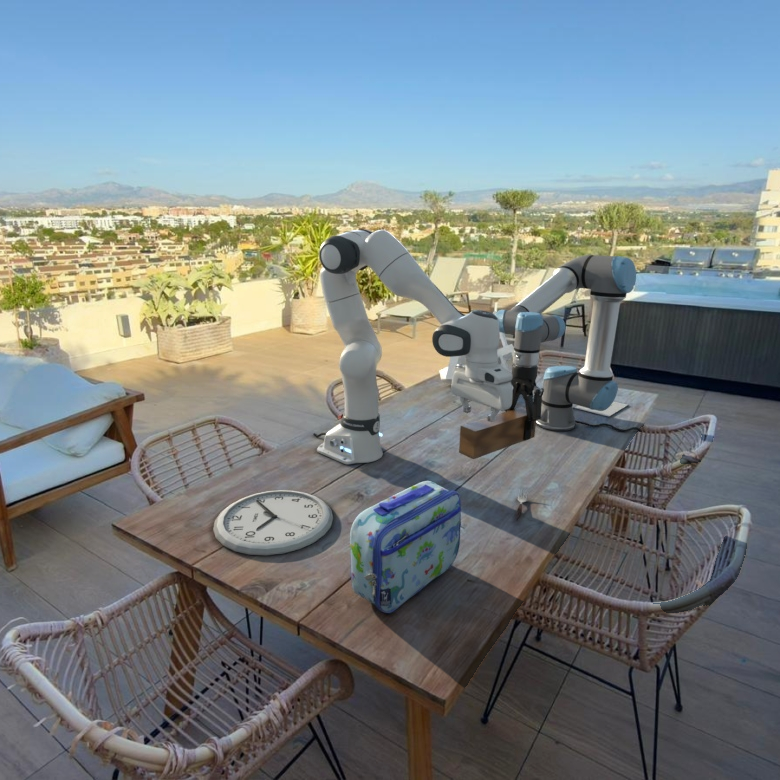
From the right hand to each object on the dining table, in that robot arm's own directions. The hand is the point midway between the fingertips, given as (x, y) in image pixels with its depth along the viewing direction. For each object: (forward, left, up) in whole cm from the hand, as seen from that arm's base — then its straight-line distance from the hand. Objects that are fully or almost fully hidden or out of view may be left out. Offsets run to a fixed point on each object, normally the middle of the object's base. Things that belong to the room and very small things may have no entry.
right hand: (518, 436), depth 164 cm
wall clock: (+65, +41, -11) cm, 78 cm away
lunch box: (+29, +61, -11) cm, 69 cm away
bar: (+7, +7, 0) cm, 10 cm away
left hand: (+14, +14, +11) cm, 22 cm away
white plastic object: (+8, -80, -11) cm, 81 cm away
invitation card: (-44, -68, -11) cm, 81 cm away
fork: (+1, +25, -11) cm, 28 cm away
